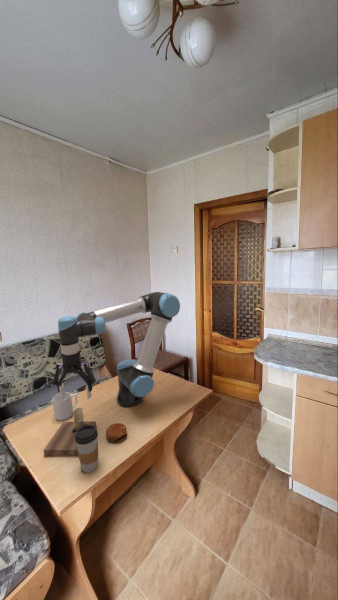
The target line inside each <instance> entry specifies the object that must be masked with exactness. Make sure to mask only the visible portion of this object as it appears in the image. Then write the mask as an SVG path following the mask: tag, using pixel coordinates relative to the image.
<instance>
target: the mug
mask: <svg viewBox="0 0 338 600" xmlns="http://www.w3.org/2000/svg"><path fill="white" fill-rule="evenodd" d="M73 396H74V397H75V403H74V404H73V400H72V399H73ZM77 405H78V394H77V393H73V394H72V393H71V392H68V391H65V398H64V399H63V400H61V397H60V392H58V393H56V394H54V396H53V397H52V406H53V407H52V408H53V413H54V415H53V416H54V419H55V420H57V421H60V422H61V421H62V422H64V421H66V420H68V419H69V418H71V417H72V416H73V411H74V410H75V407H76V406H77Z"/></svg>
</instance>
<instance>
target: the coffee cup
mask: <svg viewBox="0 0 338 600" xmlns="http://www.w3.org/2000/svg"><path fill="white" fill-rule="evenodd" d="M98 436H99V432H98V429H97V427H95V426H93V425H86V426H83V427H81V428H79V429H78V430H77V432H76V435H75V442H76V444H77V451H78V456H77V457H78V460H79V464H80V469H81V471H83V472H84V473H91V472H93V471H95V470H96V469H97V467H98V465H99V441H98V439H99V438H98Z"/></svg>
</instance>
